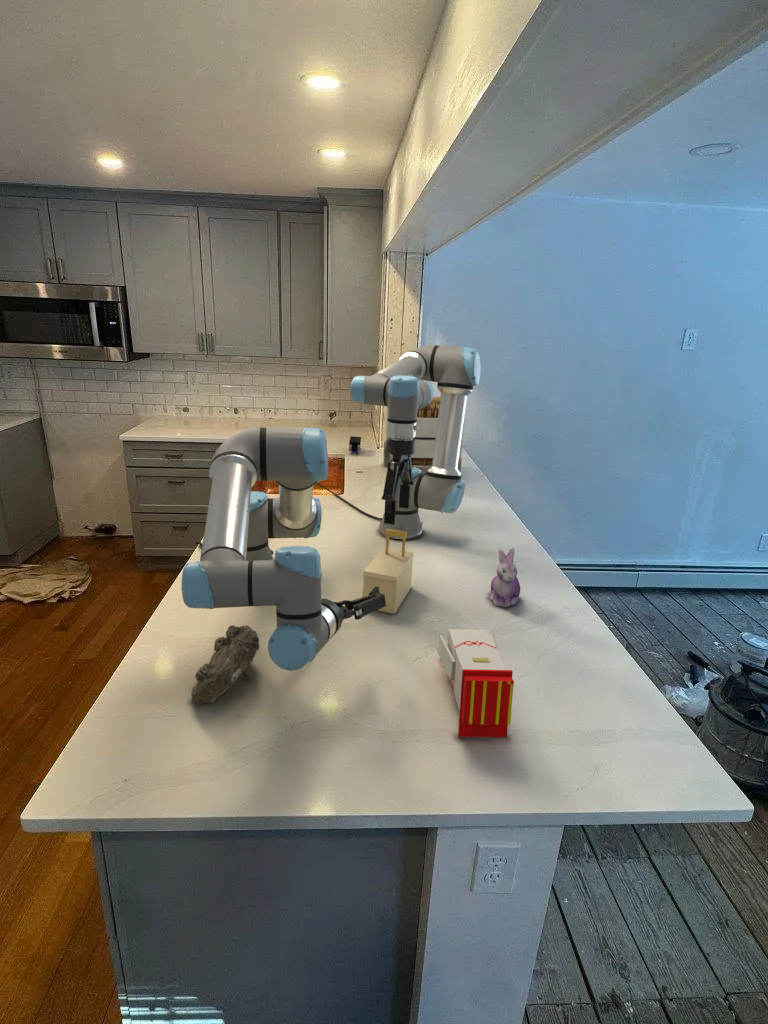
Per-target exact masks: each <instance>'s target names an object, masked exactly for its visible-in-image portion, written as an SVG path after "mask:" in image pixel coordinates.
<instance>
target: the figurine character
mask: <svg viewBox="0 0 768 1024" xmlns="http://www.w3.org/2000/svg"><path fill="white" fill-rule="evenodd" d="M349 437H350V438H349V441H348V442H349V443H348V451H349V452H350V454H351V455H353V454H356V455H358V454H359V452H361V450H362V447H361V443H362V442H361V441H362V436H353V435H351V436H349Z"/></svg>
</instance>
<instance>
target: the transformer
mask: <svg viewBox="0 0 768 1024" xmlns="http://www.w3.org/2000/svg"><path fill="white" fill-rule="evenodd" d="M440 398H441V396H434V397H433V400H432V401H431V403H430V404H428V405H427V406H426V407H424V408H422V409H419V410H417V422H416V426H417V427H418V430H416V437H415V438H414V439H415V441H416V442H415V453H414V454H412V455H411V463H412V467H417V466H418V467H431V466H432V462H433V454H434V446H435V438H436V430H437V422H438V414H439V406H440ZM385 414H386V415H385V423H386V424H387V418H388V406H386V413H385ZM464 422H465V419H464ZM464 429H465V423H464V424H463V431H462V439H463V438H464V431H465V430H464ZM387 438H388V436H387V425H386V428H385V438H384V442H383V466H384V467H387V468H388V461H391V460H392V458H393V455H392V454H389V453H387V452H386V439H387ZM462 439H461V446H460V454H459V461H458V470H459V472H460V473H461V472H462V461H463V460H462V453H463V442H464V441H463V440H462ZM461 474H462V473H461Z"/></svg>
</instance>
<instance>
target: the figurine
mask: <svg viewBox="0 0 768 1024" xmlns="http://www.w3.org/2000/svg"><path fill="white" fill-rule="evenodd" d="M514 558H515V548H514V547H512V548H511V549H509V551H508V553H507V555H506V554H505V551H503V549H501V548H499V549H498V565H497V568H496V574H497V575H495V576H494V577H493V578H492V579H491V582H490V591H489V599H490V600H491V601H492V602H493V604H494V605H495V606H497V607H503V608H507V607H510V606H514V605H516V603H518V601H519V597H520V594H521V584H520V581H519V579H518V577H517V576H518V569H517V567H516V564H515V561H514Z"/></svg>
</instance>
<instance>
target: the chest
mask: <svg viewBox="0 0 768 1024" xmlns="http://www.w3.org/2000/svg"><path fill="white" fill-rule="evenodd" d="M413 559H414V557H413V558H412V560H411V561H410V562H409V564H408V565H407V567H406V568H405V570H404V571H403V573H402V574H401V576H400V577H399V579H398V580H397V581H391V580H386V579H380V578H375V577H369V576H364V575H363V578H362V579H363V580H362V597H366V596H369V593H370V592H371V591H372V590H373V589H374V587H376V586H379V593H381V594H385V601H386V607H383V608H381V609H379V610H377V611H378V612H382V613H388V614H392V615H395V614H396V613H397V611H398V609H400V608H399V607H400V606H401V605H402V603H403V602H404V599H405V598H406V596H407V594H408V593H409V591H410V590H411V588H412V575H413V574H412V573H413Z"/></svg>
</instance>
